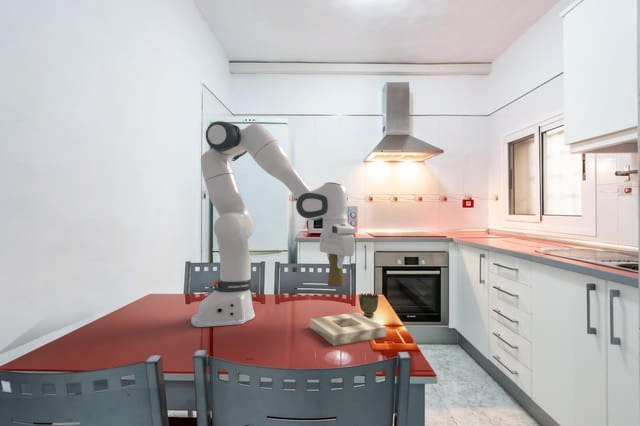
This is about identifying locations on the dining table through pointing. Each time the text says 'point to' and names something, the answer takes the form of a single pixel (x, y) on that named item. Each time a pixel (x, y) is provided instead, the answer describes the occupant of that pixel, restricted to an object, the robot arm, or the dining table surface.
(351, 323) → the socket board
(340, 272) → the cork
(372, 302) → the cup
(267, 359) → the dining table surface
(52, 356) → the dining table surface
